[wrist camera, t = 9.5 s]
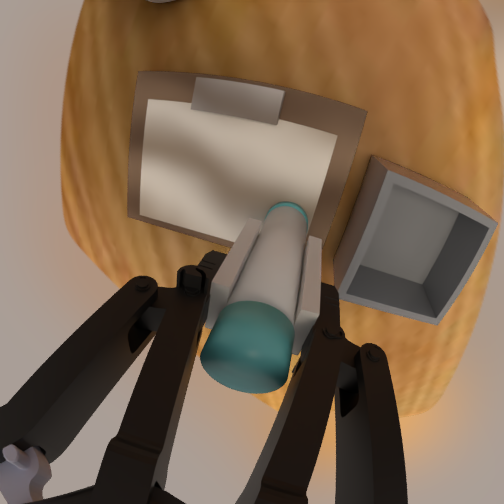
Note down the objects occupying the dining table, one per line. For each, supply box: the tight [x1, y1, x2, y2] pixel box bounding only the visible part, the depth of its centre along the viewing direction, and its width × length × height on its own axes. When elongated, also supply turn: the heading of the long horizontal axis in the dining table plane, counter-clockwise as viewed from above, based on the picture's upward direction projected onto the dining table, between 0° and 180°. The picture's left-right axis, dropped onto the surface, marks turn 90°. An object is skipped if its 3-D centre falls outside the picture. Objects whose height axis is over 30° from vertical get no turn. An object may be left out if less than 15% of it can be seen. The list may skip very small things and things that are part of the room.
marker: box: [200, 202, 308, 394], centre depth 15 cm, size 3×3×13 cm
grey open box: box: [333, 155, 498, 325], centre depth 18 cm, size 9×9×5 cm
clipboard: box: [128, 71, 367, 249], centre depth 20 cm, size 13×17×2 cm
